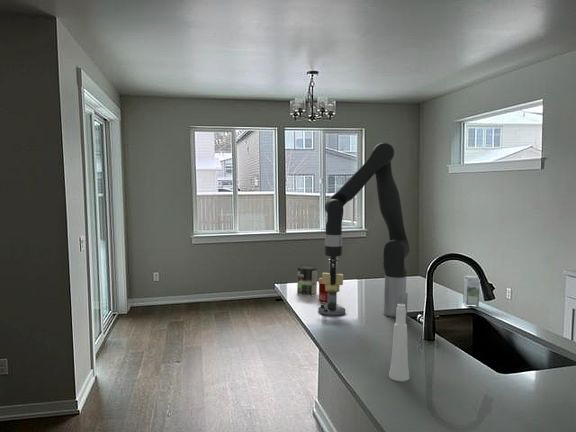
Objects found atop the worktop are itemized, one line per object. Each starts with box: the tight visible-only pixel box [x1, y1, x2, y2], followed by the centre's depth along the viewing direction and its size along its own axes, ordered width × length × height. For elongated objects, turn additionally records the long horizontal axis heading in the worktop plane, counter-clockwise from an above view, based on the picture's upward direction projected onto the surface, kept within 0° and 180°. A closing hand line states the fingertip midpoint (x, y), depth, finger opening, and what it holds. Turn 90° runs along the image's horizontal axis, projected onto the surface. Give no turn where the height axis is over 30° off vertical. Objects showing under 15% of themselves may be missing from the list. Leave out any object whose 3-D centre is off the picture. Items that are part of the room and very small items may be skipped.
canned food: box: [318, 283, 328, 304], centre depth 225 cm, size 8×8×11 cm
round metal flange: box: [317, 292, 346, 317], centre depth 206 cm, size 12×12×10 cm
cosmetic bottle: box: [388, 304, 410, 382], centre depth 137 cm, size 6×6×22 cm
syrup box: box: [462, 274, 481, 306], centre depth 220 cm, size 6×6×14 cm
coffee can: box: [296, 264, 318, 297], centre depth 239 cm, size 10×10×14 cm
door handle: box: [318, 272, 344, 293], centre depth 205 cm, size 10×6×8 cm, turn 72°
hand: (332, 283), depth 205 cm, fingers closed on door handle, 3 cm apart
